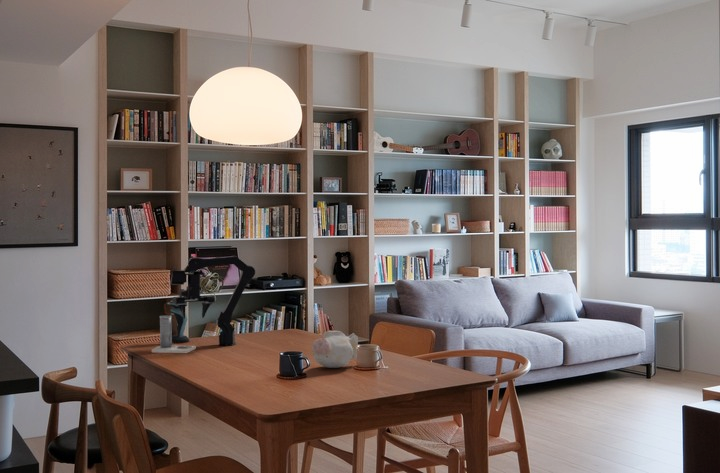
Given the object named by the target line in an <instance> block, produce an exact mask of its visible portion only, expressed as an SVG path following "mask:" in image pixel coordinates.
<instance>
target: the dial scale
mask: <svg viewBox="0 0 720 473" xmlns="http://www.w3.org/2000/svg"><path fill="white" fill-rule="evenodd" d="M196 348H197V346H196V345H172V347H171V348H160V345H159V346H158V345H157V346H156V347H155V348H152V349H151V353H155V354H156V353H160V354H161V353H162V354H165V353H167V354H168V353H169V354H187V353H190V352H192V351H194V350H196Z"/></svg>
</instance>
